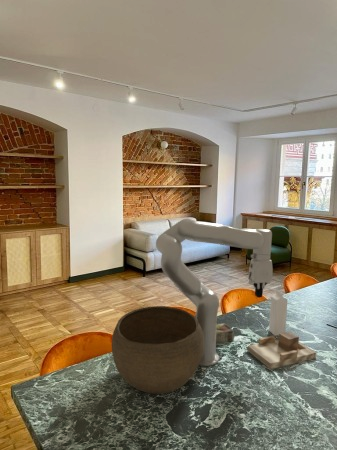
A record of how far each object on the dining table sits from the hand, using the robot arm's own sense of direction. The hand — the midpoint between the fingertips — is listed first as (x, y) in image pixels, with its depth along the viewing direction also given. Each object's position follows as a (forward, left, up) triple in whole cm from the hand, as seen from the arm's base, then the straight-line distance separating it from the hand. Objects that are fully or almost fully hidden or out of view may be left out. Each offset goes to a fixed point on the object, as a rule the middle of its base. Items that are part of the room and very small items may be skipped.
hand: (258, 296), depth 151 cm
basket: (-50, -6, -26) cm, 57 cm away
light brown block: (+12, -7, -24) cm, 28 cm away
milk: (+21, +11, -26) cm, 36 cm away
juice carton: (-13, +17, -27) cm, 34 cm away
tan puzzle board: (+9, -7, -26) cm, 28 cm away
